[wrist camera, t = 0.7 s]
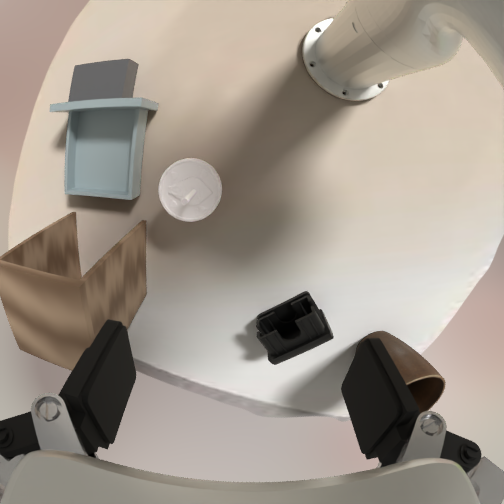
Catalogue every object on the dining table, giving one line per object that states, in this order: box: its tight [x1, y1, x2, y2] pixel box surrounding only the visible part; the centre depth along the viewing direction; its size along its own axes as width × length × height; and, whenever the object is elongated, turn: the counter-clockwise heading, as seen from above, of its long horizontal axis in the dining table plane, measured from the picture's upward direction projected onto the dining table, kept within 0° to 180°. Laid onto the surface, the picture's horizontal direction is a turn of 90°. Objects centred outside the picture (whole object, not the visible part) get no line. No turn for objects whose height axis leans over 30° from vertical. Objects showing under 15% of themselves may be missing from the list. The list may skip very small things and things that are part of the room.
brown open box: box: [0, 212, 147, 370], centre depth 30 cm, size 12×13×19 cm
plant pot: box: [356, 331, 445, 414], centre depth 40 cm, size 15×15×16 cm
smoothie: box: [158, 158, 222, 222], centre depth 29 cm, size 6×6×14 cm
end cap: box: [256, 291, 333, 365], centre depth 41 cm, size 10×7×7 cm
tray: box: [50, 59, 158, 200], centre depth 28 cm, size 18×14×6 cm
